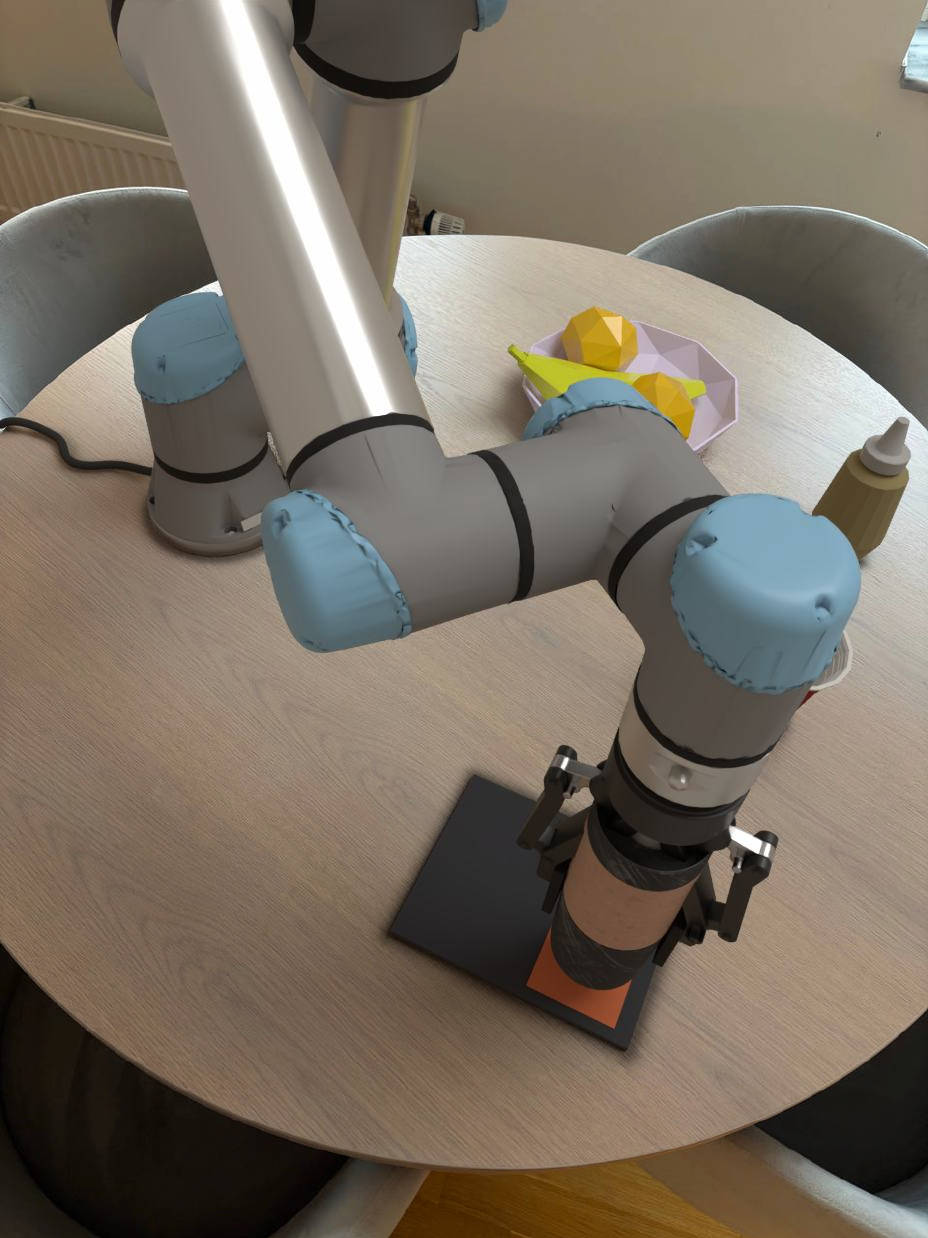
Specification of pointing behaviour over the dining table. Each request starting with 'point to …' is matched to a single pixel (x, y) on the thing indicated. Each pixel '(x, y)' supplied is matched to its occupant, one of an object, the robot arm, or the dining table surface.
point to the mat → (506, 916)
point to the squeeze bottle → (868, 489)
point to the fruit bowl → (636, 371)
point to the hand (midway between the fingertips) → (606, 921)
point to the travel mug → (617, 904)
